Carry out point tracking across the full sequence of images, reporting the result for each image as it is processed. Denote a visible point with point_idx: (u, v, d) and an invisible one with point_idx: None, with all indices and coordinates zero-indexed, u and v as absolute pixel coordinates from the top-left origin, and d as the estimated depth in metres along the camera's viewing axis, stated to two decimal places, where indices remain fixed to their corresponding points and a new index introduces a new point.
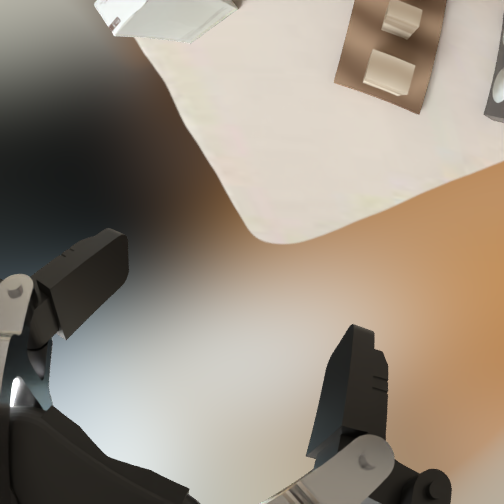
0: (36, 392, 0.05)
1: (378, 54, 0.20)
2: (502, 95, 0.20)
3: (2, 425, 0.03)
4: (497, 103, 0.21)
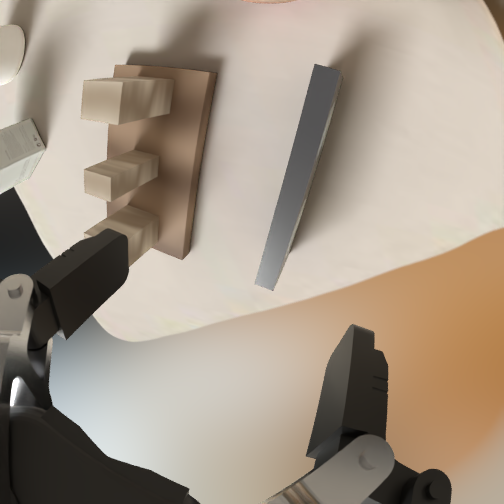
0: (36, 392, 0.05)
1: None
2: None
3: (2, 425, 0.03)
4: None
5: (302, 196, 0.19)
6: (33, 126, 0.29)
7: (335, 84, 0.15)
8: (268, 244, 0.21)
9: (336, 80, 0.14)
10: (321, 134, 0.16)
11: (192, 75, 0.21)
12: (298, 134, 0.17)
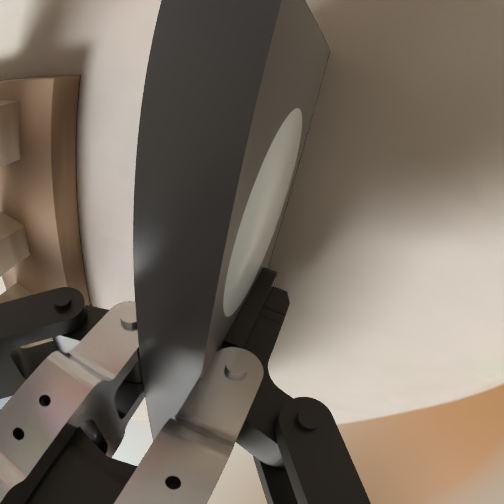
0: (107, 431, 0.05)
1: None
2: None
3: (42, 464, 0.03)
4: None
5: None
6: None
7: (265, 38, 0.03)
8: (156, 436, 0.09)
9: (269, 17, 0.02)
10: (215, 274, 0.04)
11: (35, 88, 0.09)
12: (140, 266, 0.05)
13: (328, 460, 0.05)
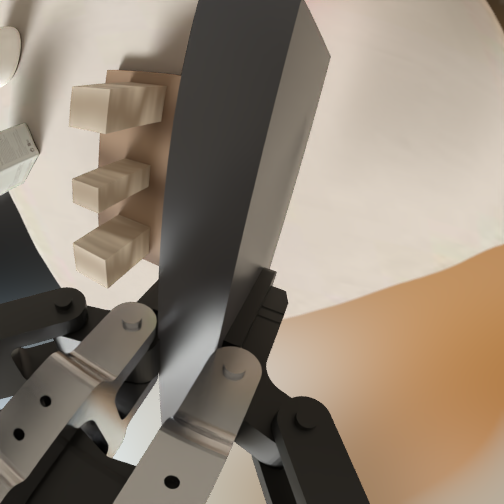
0: (108, 431, 0.05)
1: (77, 248, 0.23)
2: None
3: (43, 465, 0.03)
4: None
5: None
6: (27, 131, 0.29)
7: (282, 49, 0.03)
8: None
9: (286, 32, 0.03)
10: (236, 246, 0.05)
11: None
12: (166, 242, 0.05)
13: (327, 459, 0.05)
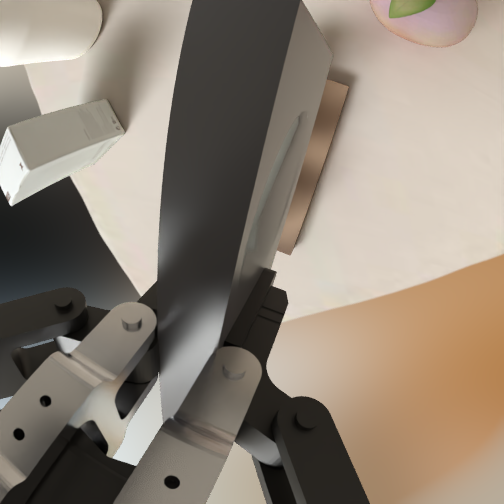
0: (108, 431, 0.05)
1: None
2: None
3: (42, 465, 0.03)
4: None
5: None
6: (110, 108, 0.31)
7: (280, 56, 0.03)
8: None
9: (284, 38, 0.03)
10: (233, 257, 0.05)
11: (331, 85, 0.23)
12: (164, 252, 0.05)
13: (327, 459, 0.05)
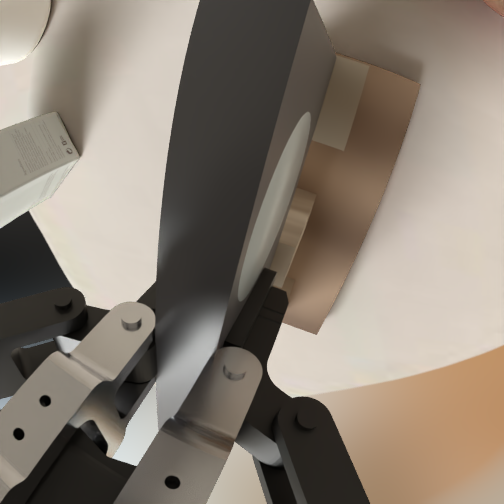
0: (107, 431, 0.05)
1: None
2: None
3: (42, 465, 0.03)
4: None
5: None
6: (60, 123, 0.21)
7: (289, 53, 0.03)
8: (162, 422, 0.10)
9: (293, 36, 0.03)
10: (236, 258, 0.05)
11: (393, 80, 0.12)
12: (164, 251, 0.05)
13: (327, 460, 0.05)
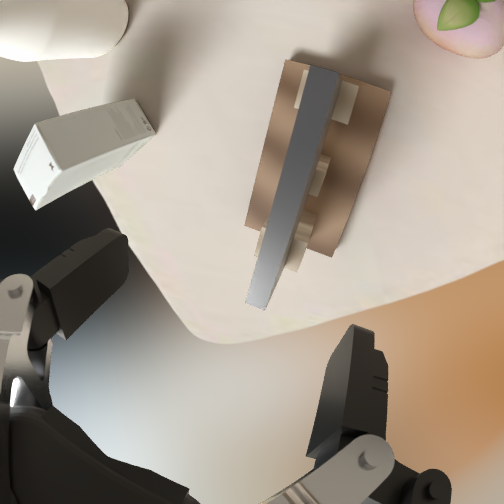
0: (36, 392, 0.05)
1: None
2: None
3: (2, 425, 0.03)
4: None
5: (296, 211, 0.17)
6: (139, 108, 0.31)
7: (333, 87, 0.13)
8: (259, 262, 0.20)
9: (334, 83, 0.13)
10: (317, 143, 0.15)
11: (375, 90, 0.22)
12: (292, 143, 0.15)
13: None
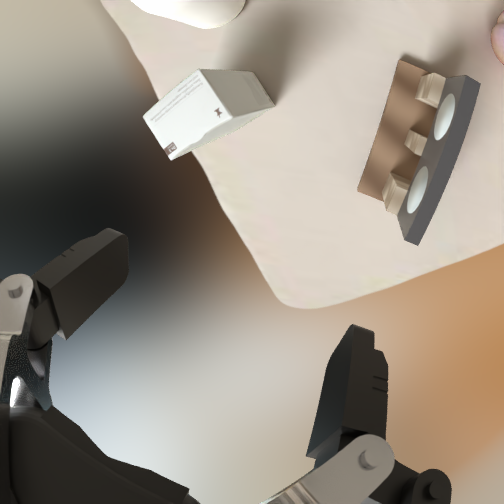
0: (36, 392, 0.05)
1: (400, 190, 0.28)
2: (413, 205, 0.25)
3: (2, 425, 0.03)
4: (407, 212, 0.26)
5: (452, 168, 0.20)
6: (258, 80, 0.34)
7: (477, 92, 0.16)
8: (422, 204, 0.23)
9: (478, 89, 0.16)
10: (467, 124, 0.18)
11: None
12: (454, 122, 0.18)
13: None
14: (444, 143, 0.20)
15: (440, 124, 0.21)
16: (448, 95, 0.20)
